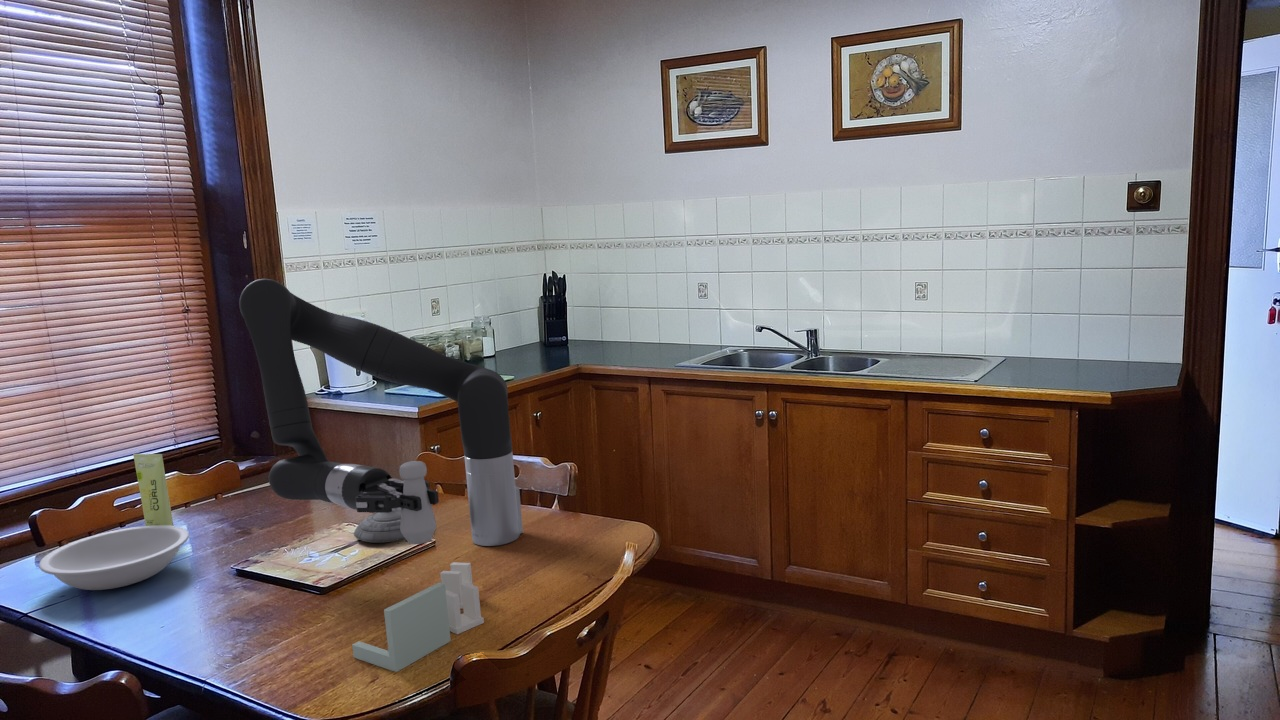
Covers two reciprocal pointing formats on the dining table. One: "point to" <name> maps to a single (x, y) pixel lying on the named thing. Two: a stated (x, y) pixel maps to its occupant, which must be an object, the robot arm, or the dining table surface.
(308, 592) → the dining table surface
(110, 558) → the soup bowl
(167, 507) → the tube
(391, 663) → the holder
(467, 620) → the clip
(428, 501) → the salt shaker
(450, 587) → the clip
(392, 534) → the flying saucer
